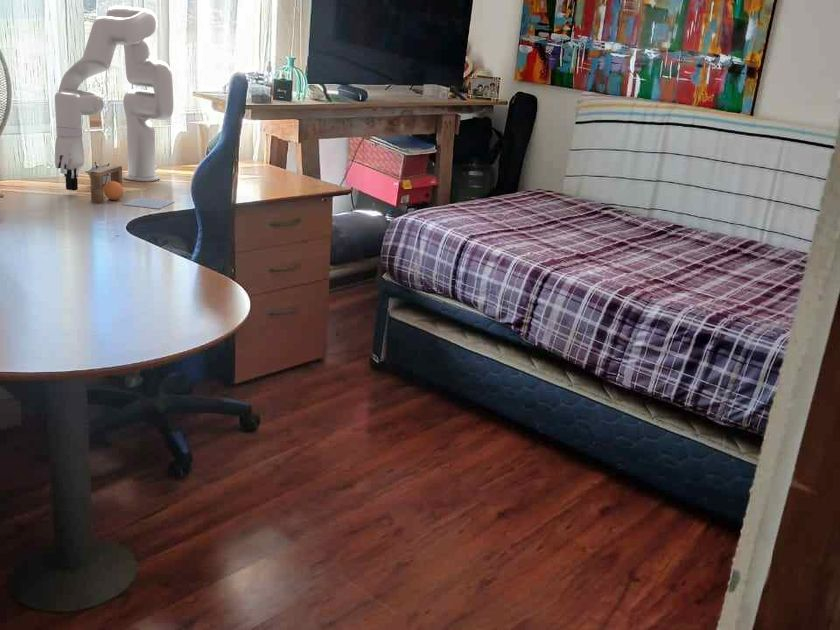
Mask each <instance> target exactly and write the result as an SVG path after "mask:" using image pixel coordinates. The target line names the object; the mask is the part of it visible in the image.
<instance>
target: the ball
mask: <svg viewBox="0 0 840 630" xmlns="http://www.w3.org/2000/svg"><path fill="white" fill-rule="evenodd" d="M103 195H104V196H105V197H106V198H107V199H109V200H111V201H117V200H119V199H121V198H122V197H123V195H124V188H123V185H122V186H121V184H119V183H118V182H115V181H111V180H110V181H109V182H108V183H107V184H106V185H105V186H104V185H103Z"/></svg>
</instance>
